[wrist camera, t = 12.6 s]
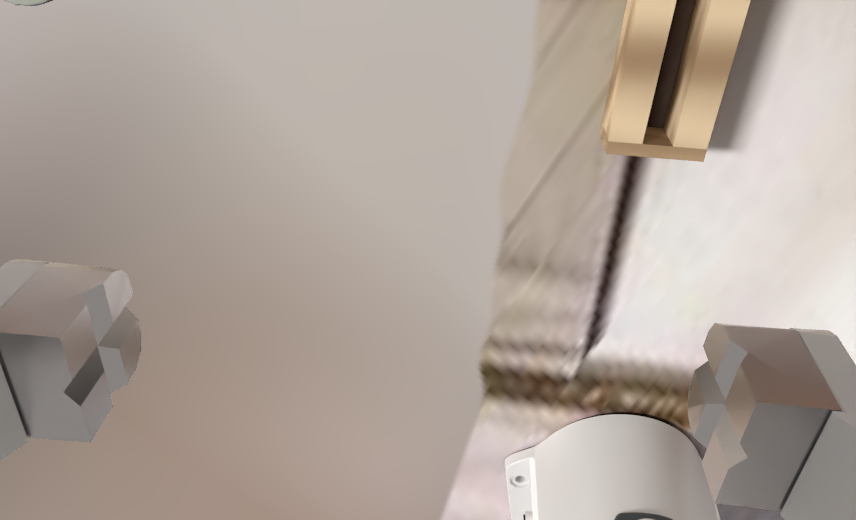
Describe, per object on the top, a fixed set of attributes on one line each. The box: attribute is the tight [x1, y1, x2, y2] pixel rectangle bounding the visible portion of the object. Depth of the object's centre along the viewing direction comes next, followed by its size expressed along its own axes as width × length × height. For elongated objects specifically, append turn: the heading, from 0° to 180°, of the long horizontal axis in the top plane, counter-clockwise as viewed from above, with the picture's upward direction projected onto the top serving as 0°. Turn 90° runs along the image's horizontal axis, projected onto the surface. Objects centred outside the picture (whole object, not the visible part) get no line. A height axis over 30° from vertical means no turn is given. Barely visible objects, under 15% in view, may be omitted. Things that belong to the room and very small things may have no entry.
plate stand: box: [600, 0, 751, 162], centre depth 41 cm, size 11×6×3 cm, turn 177°
